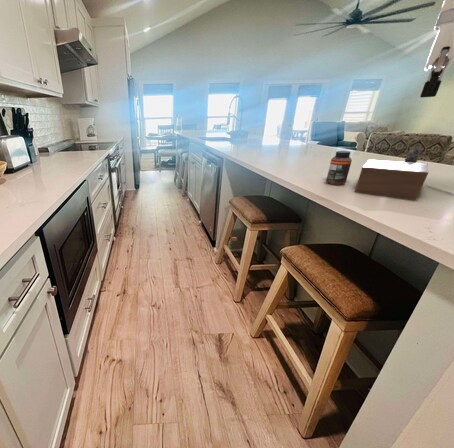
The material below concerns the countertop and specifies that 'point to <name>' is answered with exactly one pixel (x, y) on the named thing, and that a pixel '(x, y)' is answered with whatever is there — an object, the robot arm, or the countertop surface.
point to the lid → (397, 166)
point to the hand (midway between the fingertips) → (427, 96)
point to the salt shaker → (413, 155)
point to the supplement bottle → (339, 168)
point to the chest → (390, 183)
